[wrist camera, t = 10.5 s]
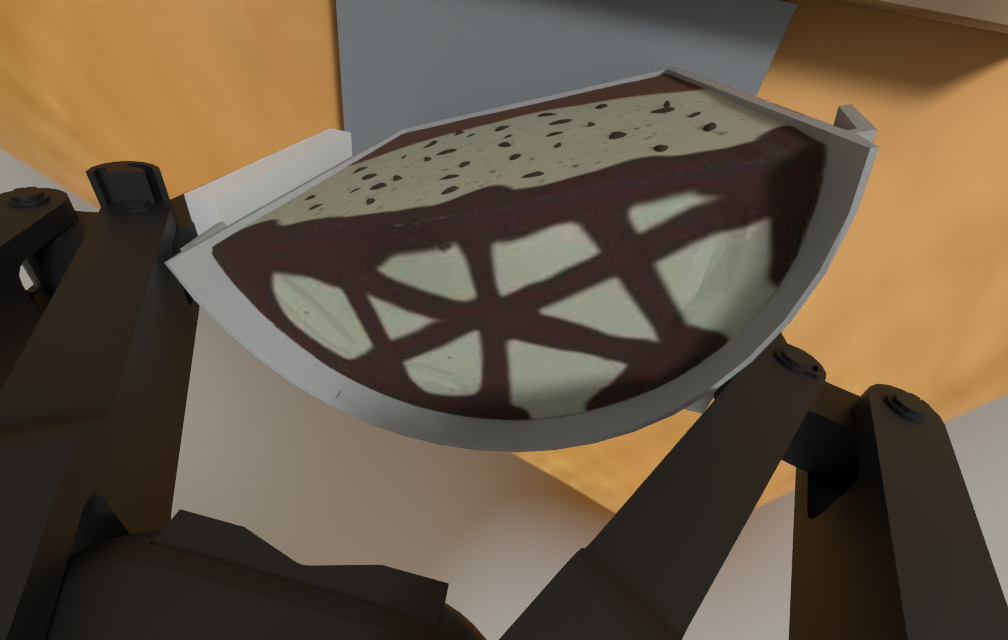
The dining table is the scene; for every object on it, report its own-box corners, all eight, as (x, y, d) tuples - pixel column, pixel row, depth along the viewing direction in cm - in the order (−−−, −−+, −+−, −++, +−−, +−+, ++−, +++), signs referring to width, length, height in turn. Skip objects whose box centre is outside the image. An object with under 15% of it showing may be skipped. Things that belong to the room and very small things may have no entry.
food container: (419, 277, 20) (297, 466, 12) (365, 136, 16) (142, 266, 8) (717, 241, 16) (832, 470, 8) (726, 54, 13) (934, 137, 5)
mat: (360, 287, 22) (355, 293, 22) (339, -83, 14) (330, -87, 13) (632, 353, 21) (633, 361, 21) (791, 3, 13) (798, 4, 12)
